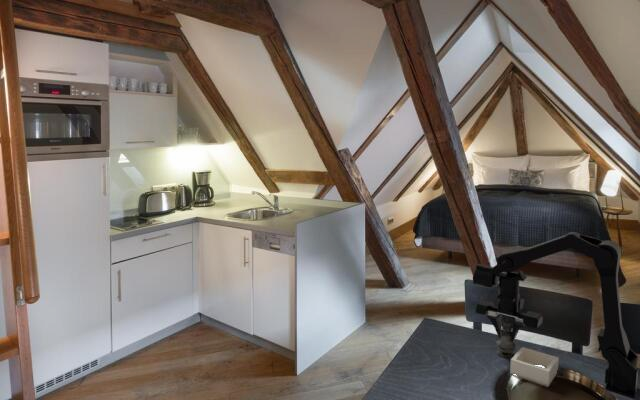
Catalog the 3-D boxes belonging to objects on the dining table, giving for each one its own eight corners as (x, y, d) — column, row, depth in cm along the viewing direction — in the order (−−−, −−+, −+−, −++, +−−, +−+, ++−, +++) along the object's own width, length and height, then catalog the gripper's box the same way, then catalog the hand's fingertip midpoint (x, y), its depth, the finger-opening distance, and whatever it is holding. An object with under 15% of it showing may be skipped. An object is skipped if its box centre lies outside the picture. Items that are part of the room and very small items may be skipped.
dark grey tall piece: (492, 353, 136) (493, 317, 134) (502, 348, 139) (503, 312, 138) (509, 361, 131) (511, 323, 129) (519, 355, 135) (521, 318, 133)
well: (557, 372, 124) (558, 357, 124) (548, 387, 117) (548, 371, 116) (521, 360, 131) (522, 346, 130) (510, 374, 124) (510, 359, 123)
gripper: (549, 291, 132) (546, 339, 134) (488, 278, 144) (486, 322, 147) (538, 301, 124) (535, 352, 126) (474, 287, 136) (473, 334, 138)
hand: (506, 339), depth 134 cm, fingers open, 4 cm apart
